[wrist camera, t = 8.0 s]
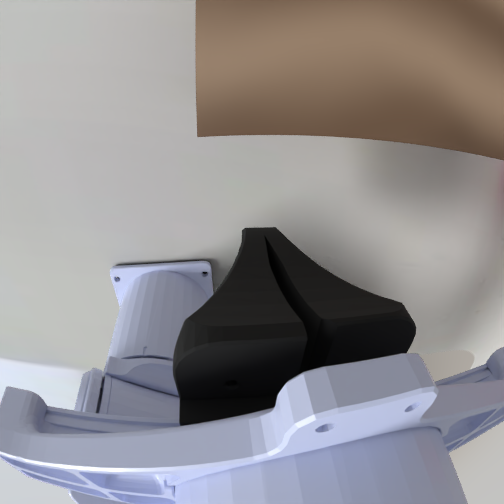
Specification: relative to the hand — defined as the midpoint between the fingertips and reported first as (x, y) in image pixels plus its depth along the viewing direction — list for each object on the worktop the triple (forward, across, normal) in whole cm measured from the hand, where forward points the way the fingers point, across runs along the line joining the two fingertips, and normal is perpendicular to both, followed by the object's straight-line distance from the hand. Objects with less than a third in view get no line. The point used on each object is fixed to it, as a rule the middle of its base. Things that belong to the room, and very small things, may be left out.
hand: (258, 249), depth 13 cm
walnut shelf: (+10, -8, -11) cm, 17 cm away
